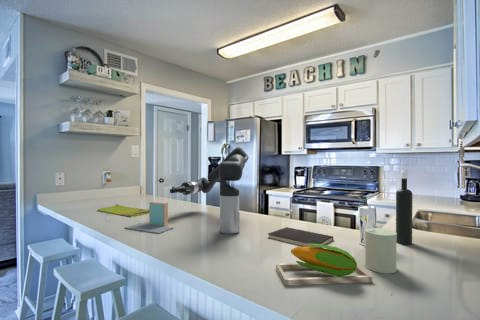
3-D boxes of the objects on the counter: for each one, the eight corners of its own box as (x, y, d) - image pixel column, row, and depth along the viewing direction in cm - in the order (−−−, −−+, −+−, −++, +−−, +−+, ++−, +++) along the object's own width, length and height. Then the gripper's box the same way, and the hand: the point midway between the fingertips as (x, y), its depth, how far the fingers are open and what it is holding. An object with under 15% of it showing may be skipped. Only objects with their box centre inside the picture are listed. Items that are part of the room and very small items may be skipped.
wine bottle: (393, 242, 111) (393, 170, 111) (398, 239, 115) (399, 169, 114) (409, 246, 106) (409, 170, 106) (414, 243, 110) (414, 170, 110)
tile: (167, 226, 137) (167, 202, 137) (164, 227, 135) (164, 203, 135) (152, 224, 141) (152, 201, 141) (149, 225, 139) (149, 202, 139)
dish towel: (131, 218, 157) (131, 212, 157) (96, 211, 176) (96, 207, 176) (152, 213, 171) (152, 208, 171) (117, 208, 189) (117, 203, 189)
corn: (354, 255, 72) (285, 240, 83) (353, 284, 72) (284, 265, 83) (359, 249, 78) (295, 235, 89) (358, 275, 78) (293, 258, 89)
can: (358, 262, 90) (358, 226, 90) (385, 261, 90) (385, 226, 90) (374, 273, 81) (374, 234, 80) (403, 273, 81) (403, 233, 81)
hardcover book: (316, 250, 102) (316, 244, 102) (267, 238, 118) (267, 233, 118) (333, 241, 114) (333, 236, 114) (287, 231, 130) (287, 226, 130)
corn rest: (351, 266, 86) (351, 261, 86) (372, 282, 75) (372, 276, 75) (275, 268, 84) (275, 263, 84) (284, 285, 73) (284, 280, 73)
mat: (173, 228, 132) (173, 227, 132) (159, 233, 123) (159, 232, 123) (140, 224, 141) (140, 223, 141) (124, 228, 132) (124, 227, 132)
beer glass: (365, 247, 105) (366, 209, 105) (353, 242, 112) (354, 206, 112) (380, 245, 107) (380, 208, 107) (367, 240, 113) (367, 205, 113)
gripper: (198, 194, 161) (180, 199, 145) (180, 193, 166) (161, 197, 151) (198, 182, 160) (180, 185, 145) (181, 181, 166) (161, 183, 150)
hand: (170, 191), depth 148 cm, fingers closed
